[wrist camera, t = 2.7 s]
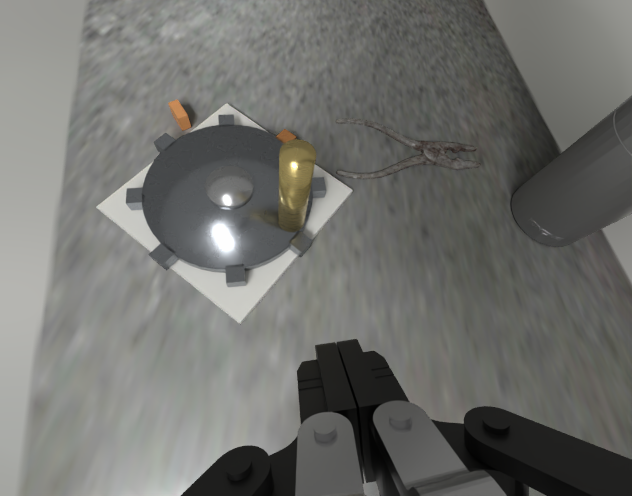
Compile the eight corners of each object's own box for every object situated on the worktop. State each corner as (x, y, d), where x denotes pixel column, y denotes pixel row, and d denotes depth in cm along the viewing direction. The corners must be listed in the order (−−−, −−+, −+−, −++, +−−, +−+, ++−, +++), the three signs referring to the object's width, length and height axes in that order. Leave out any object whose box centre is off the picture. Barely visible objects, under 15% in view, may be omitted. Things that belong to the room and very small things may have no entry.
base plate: (203, 91, 44) (200, 79, 43) (351, 193, 41) (355, 184, 39) (73, 189, 37) (63, 179, 35) (240, 324, 33) (238, 321, 32)
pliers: (323, 118, 44) (459, 109, 48) (323, 123, 45) (456, 114, 49) (339, 179, 41) (484, 165, 44) (337, 183, 42) (481, 169, 45)
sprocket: (226, 97, 43) (208, -9, 32) (359, 188, 40) (393, 108, 28) (87, 205, 35) (-3, 118, 24) (239, 330, 32) (220, 297, 21)
